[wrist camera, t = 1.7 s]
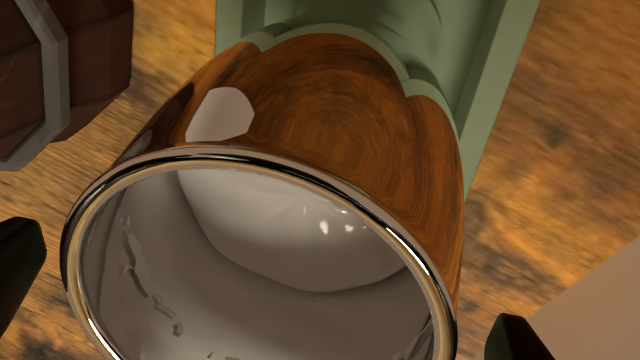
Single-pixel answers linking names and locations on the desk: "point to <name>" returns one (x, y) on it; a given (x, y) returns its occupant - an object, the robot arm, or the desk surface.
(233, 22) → the holder
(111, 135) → the desk surface
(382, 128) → the beer glass
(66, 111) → the mug
